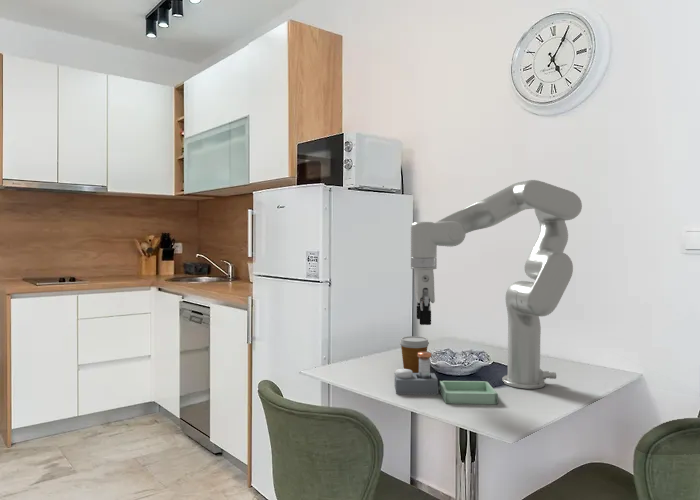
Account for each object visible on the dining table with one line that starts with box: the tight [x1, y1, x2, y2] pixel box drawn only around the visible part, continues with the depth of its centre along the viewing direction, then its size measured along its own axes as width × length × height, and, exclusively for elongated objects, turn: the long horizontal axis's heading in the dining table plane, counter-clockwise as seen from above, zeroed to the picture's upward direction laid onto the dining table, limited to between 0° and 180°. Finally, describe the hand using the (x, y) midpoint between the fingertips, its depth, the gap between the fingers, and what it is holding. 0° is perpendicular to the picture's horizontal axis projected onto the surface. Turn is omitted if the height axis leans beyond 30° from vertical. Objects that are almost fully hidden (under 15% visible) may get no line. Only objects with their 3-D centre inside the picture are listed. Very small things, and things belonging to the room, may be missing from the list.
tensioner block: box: [394, 368, 439, 395], centre depth 152 cm, size 12×8×6 cm, turn 88°
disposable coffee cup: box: [399, 335, 430, 373], centre depth 167 cm, size 10×10×12 cm
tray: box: [438, 380, 499, 405], centre depth 145 cm, size 14×12×3 cm
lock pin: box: [418, 351, 432, 379], centre depth 151 cm, size 4×4×11 cm
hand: (423, 321), depth 151 cm, fingers open, 9 cm apart
